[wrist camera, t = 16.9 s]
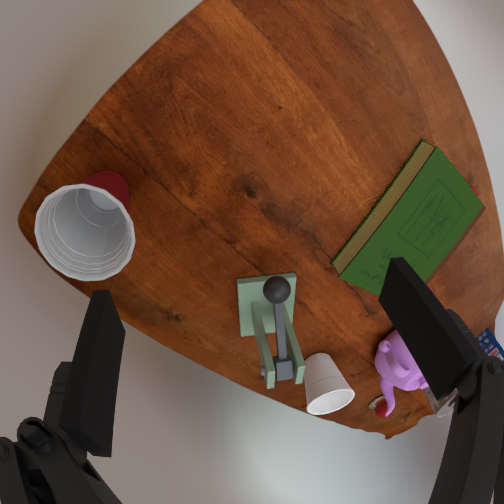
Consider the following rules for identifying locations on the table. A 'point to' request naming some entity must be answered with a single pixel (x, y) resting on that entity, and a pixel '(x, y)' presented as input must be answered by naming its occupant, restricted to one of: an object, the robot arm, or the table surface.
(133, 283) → the table surface
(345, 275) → the book
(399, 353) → the teapot
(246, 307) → the switch bracket
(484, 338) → the pasta box
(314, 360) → the cup
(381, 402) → the apple
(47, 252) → the plastic cup
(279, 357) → the switch lever
